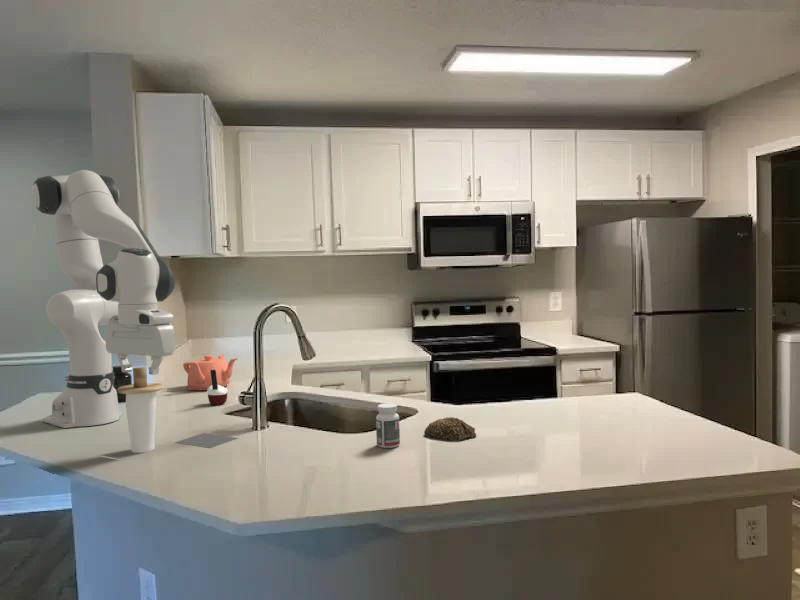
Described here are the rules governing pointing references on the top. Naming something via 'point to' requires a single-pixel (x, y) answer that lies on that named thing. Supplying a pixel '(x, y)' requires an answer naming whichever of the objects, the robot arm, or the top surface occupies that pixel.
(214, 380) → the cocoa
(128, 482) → the top surface
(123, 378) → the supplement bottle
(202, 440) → the mat
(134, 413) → the drinking glass
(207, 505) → the top surface
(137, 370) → the lid
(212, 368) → the pot
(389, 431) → the pill bottle
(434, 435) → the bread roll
